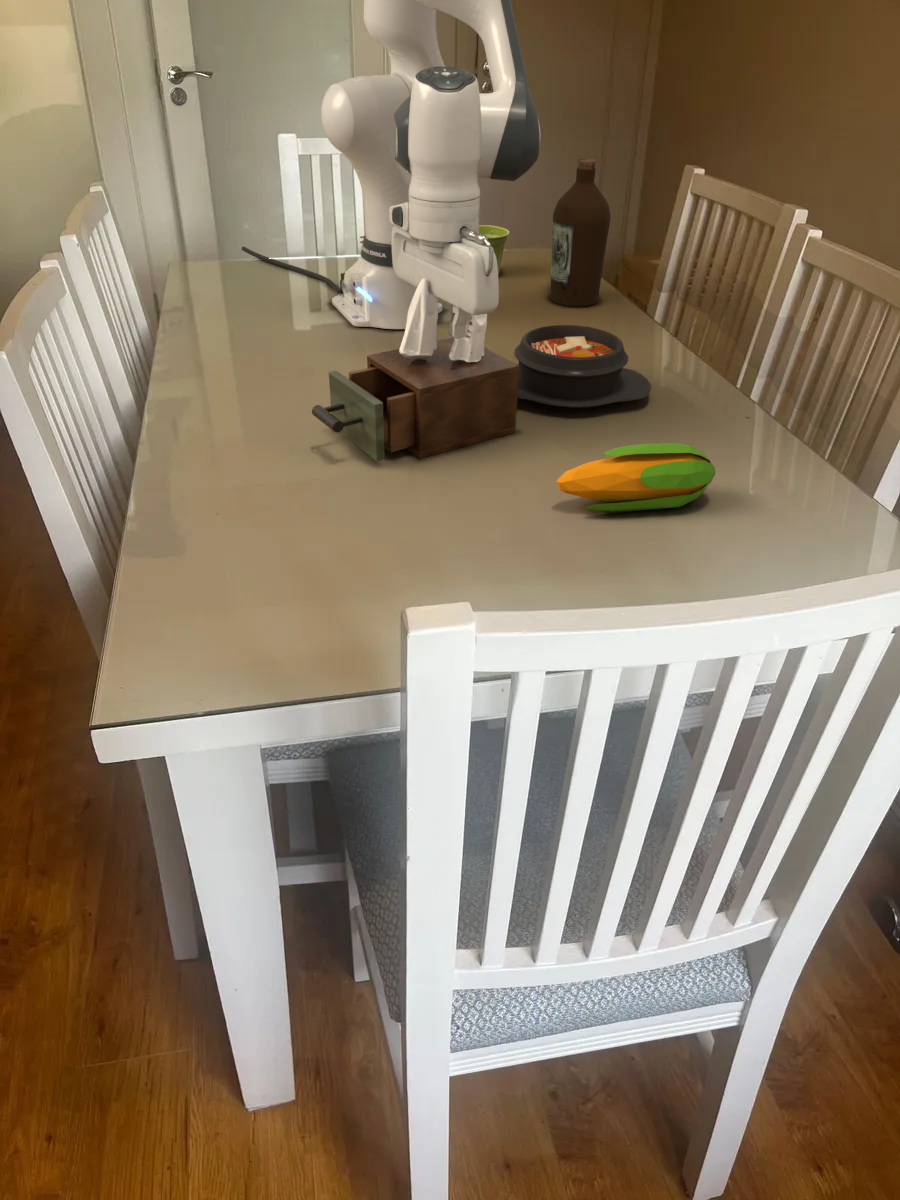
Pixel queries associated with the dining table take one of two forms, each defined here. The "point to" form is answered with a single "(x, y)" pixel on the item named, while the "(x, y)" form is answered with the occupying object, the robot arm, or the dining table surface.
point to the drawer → (370, 411)
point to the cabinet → (455, 396)
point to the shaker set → (424, 330)
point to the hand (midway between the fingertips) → (443, 329)
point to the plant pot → (495, 240)
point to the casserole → (576, 368)
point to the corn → (641, 477)
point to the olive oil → (579, 240)
